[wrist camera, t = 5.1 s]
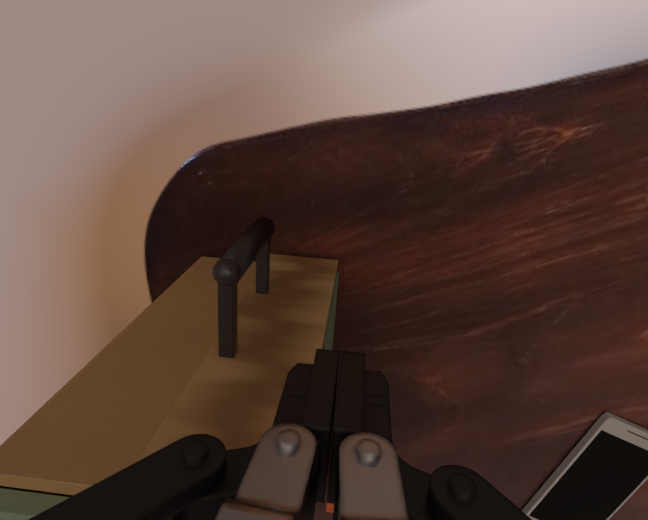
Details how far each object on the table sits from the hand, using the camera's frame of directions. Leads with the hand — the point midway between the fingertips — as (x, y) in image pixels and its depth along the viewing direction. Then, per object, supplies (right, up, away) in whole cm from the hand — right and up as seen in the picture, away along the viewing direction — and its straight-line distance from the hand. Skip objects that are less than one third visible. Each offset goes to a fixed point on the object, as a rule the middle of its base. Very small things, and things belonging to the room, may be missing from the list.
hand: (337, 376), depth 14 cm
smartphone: (+25, -18, +30) cm, 44 cm away
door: (-2, +6, +23) cm, 24 cm away
